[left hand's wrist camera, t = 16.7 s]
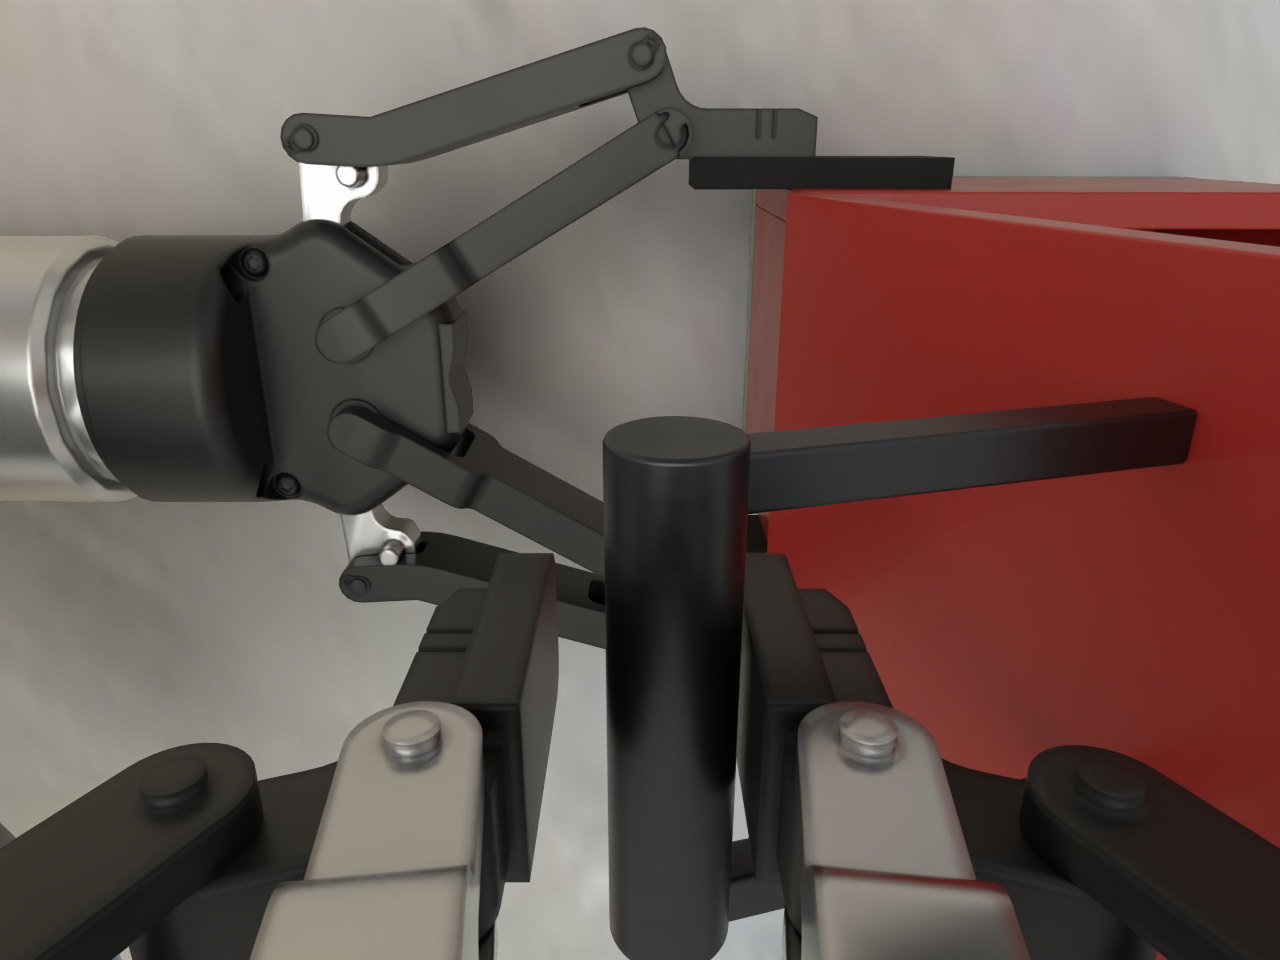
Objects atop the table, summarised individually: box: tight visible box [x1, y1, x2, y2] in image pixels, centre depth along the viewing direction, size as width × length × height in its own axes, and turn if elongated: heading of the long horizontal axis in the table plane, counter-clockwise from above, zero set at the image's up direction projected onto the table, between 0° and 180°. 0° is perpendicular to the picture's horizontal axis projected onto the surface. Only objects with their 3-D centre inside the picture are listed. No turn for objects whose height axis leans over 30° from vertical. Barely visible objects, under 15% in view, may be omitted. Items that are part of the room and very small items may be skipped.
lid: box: [603, 193, 1280, 960], centre depth 15 cm, size 15×10×8 cm
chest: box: [742, 176, 1280, 544], centre depth 27 cm, size 14×10×9 cm
